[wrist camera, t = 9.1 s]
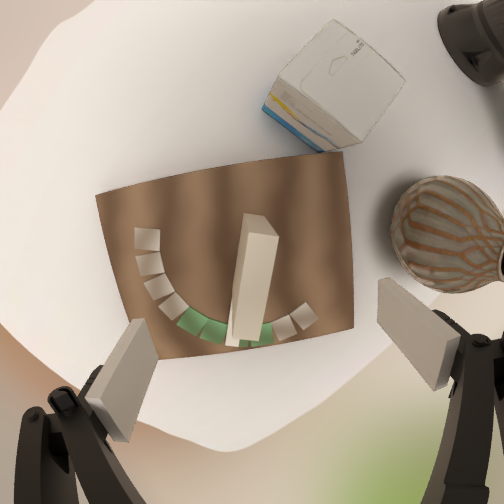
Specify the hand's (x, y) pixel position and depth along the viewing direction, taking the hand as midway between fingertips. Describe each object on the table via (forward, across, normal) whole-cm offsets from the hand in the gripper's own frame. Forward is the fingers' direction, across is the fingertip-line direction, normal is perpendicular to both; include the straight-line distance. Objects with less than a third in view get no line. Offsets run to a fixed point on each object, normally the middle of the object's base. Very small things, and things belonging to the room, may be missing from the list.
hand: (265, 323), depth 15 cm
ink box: (+19, +9, +15) cm, 26 cm away
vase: (+20, +22, -1) cm, 29 cm away
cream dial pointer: (+16, -2, -4) cm, 17 cm away
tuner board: (+19, -3, -2) cm, 19 cm away
